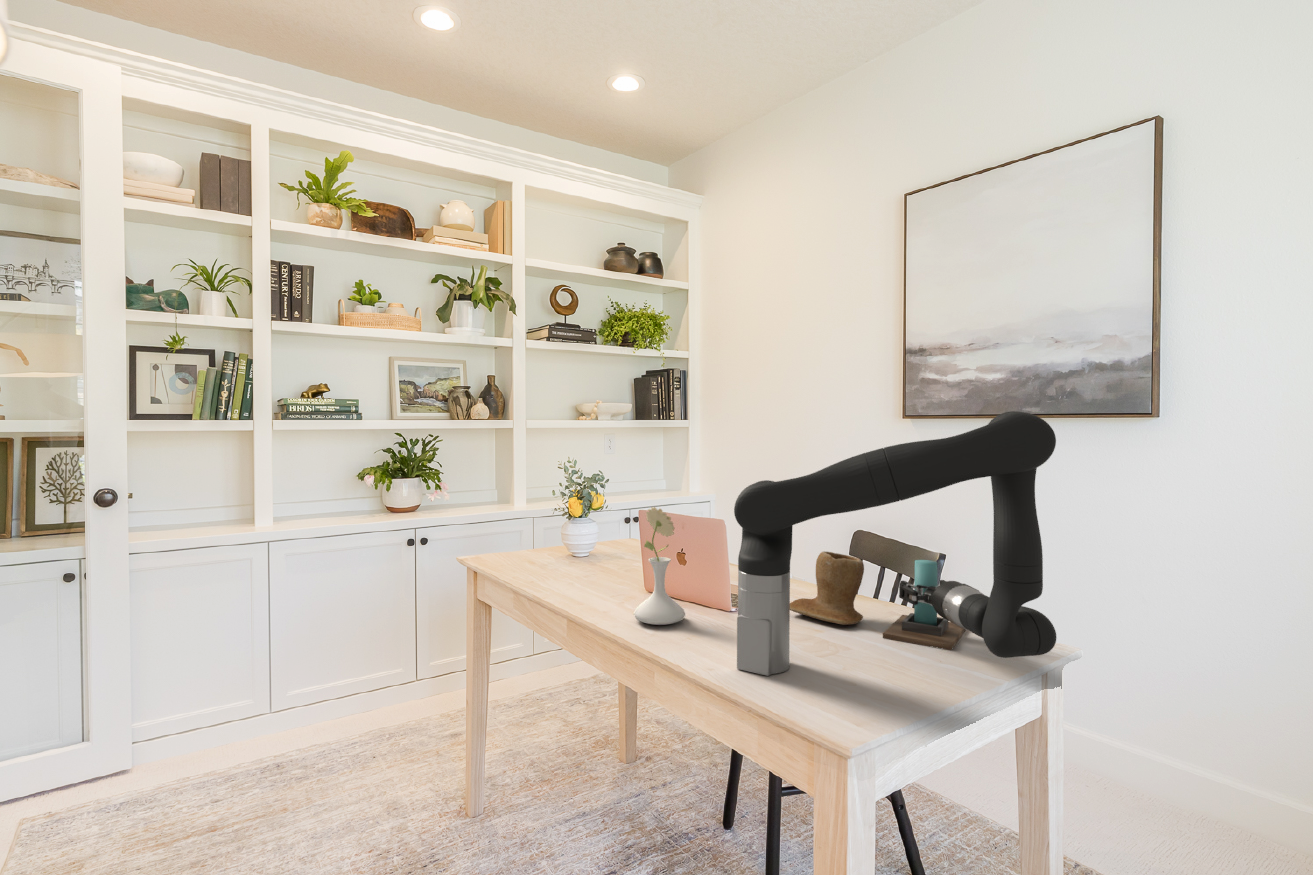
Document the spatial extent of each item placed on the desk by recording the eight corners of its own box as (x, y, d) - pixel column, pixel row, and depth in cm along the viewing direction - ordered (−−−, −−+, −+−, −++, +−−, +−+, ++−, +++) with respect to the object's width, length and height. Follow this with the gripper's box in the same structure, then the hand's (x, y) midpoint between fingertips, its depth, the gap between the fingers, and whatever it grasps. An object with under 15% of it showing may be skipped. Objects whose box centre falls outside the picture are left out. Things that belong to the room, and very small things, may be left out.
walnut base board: (951, 650, 128) (951, 635, 128) (882, 637, 136) (882, 624, 135) (965, 629, 142) (965, 616, 141) (902, 618, 149) (902, 606, 149)
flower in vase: (693, 625, 143) (694, 510, 143) (644, 631, 139) (644, 512, 139) (670, 610, 155) (670, 503, 155) (624, 615, 151) (624, 505, 151)
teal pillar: (934, 633, 135) (934, 564, 135) (911, 629, 138) (912, 562, 138) (938, 627, 139) (939, 561, 139) (916, 624, 141) (917, 558, 141)
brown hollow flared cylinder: (875, 621, 147) (875, 554, 147) (843, 632, 139) (844, 561, 139) (817, 607, 159) (818, 544, 158) (786, 616, 151) (786, 550, 150)
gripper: (999, 585, 125) (953, 566, 141) (926, 586, 123) (888, 567, 140) (999, 625, 125) (953, 601, 141) (926, 626, 124) (888, 603, 140)
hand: (921, 584), depth 140 cm, fingers open, 8 cm apart
